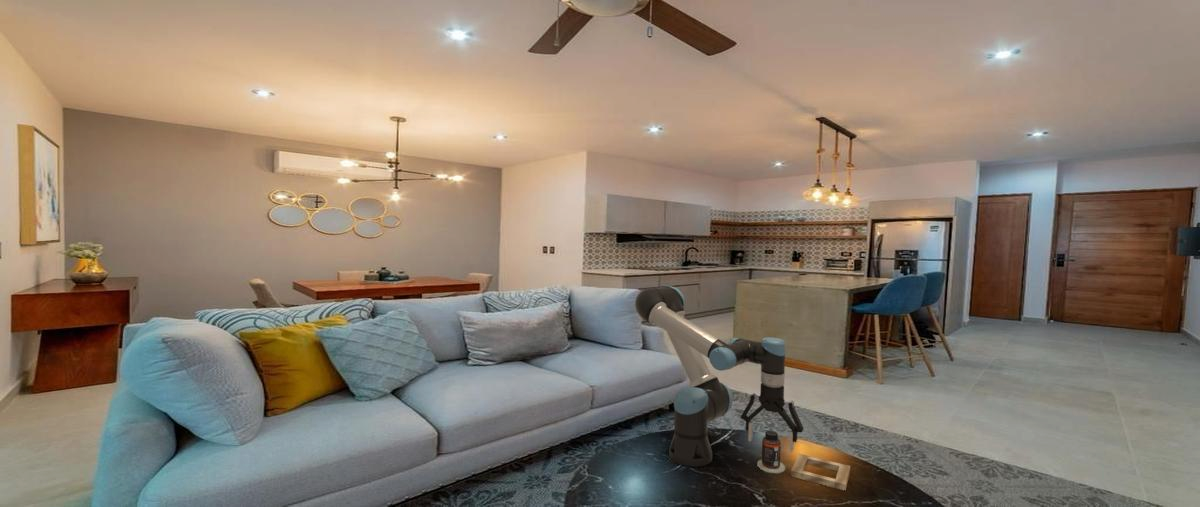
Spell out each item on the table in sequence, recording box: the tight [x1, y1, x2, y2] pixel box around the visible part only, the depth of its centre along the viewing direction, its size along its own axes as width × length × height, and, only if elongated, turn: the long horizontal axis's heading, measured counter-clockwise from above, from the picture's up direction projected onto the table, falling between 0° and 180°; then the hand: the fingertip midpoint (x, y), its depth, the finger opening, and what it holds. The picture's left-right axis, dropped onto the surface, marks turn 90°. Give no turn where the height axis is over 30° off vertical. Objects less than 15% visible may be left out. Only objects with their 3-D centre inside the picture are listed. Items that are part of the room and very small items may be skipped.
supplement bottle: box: [761, 430, 782, 469], centre depth 163 cm, size 6×6×11 cm
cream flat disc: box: [757, 459, 786, 475], centre depth 163 cm, size 9×9×1 cm
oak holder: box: [790, 453, 851, 491], centre depth 158 cm, size 16×14×2 cm
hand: (770, 445), depth 163 cm, fingers open, 13 cm apart
